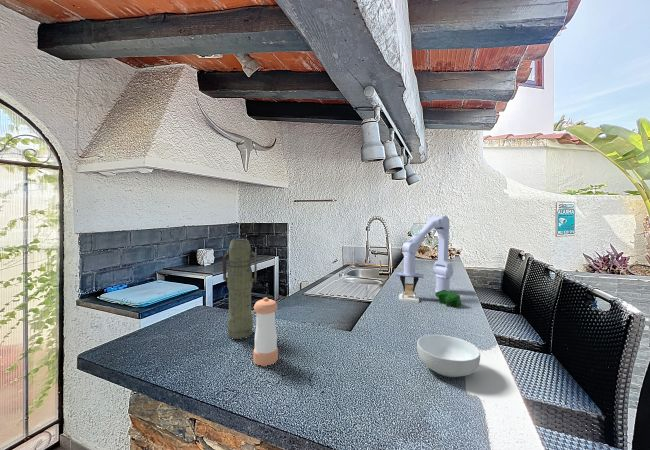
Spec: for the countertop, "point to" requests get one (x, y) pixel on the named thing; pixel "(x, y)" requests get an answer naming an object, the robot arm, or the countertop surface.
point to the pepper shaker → (265, 333)
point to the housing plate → (409, 297)
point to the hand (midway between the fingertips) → (408, 290)
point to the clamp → (448, 298)
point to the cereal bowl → (448, 355)
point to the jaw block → (408, 289)
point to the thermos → (239, 288)
